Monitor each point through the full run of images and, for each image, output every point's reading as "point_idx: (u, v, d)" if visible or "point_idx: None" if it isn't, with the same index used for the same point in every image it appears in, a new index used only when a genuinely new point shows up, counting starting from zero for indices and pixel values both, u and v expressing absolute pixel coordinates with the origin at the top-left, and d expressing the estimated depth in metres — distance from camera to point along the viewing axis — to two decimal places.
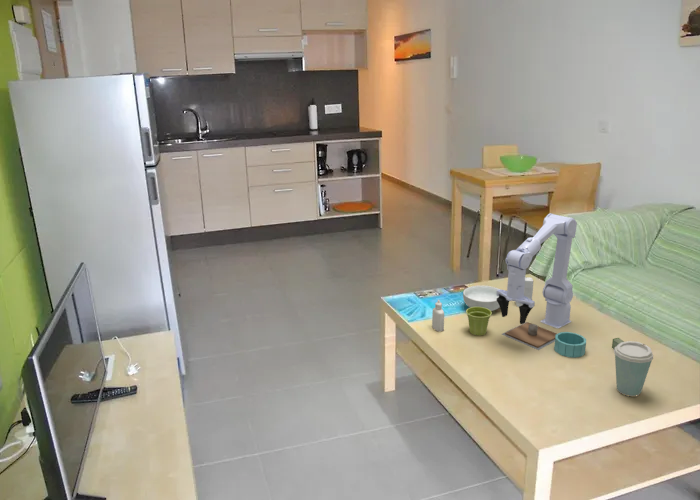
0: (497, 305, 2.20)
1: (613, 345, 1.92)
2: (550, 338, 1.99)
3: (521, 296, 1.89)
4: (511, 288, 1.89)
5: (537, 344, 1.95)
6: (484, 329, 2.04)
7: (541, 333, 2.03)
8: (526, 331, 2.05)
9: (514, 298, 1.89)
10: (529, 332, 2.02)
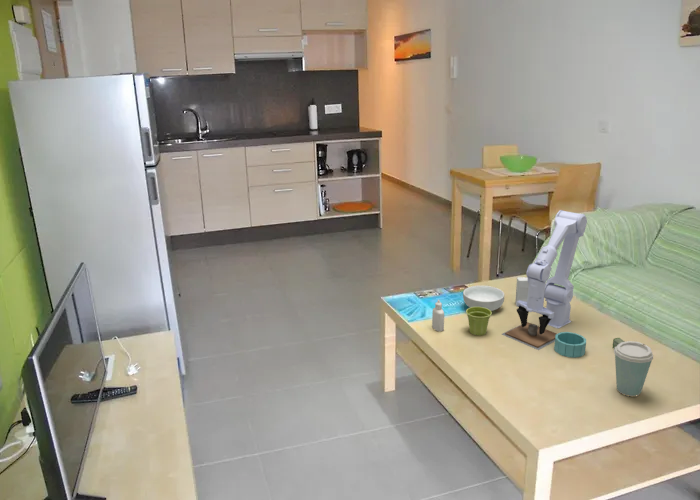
0: (497, 305, 2.20)
1: (614, 345, 1.92)
2: (550, 338, 1.99)
3: (541, 307, 1.97)
4: (531, 299, 1.97)
5: (537, 344, 1.95)
6: (484, 329, 2.04)
7: None
8: (526, 331, 2.05)
9: (534, 309, 1.97)
10: (529, 332, 2.02)
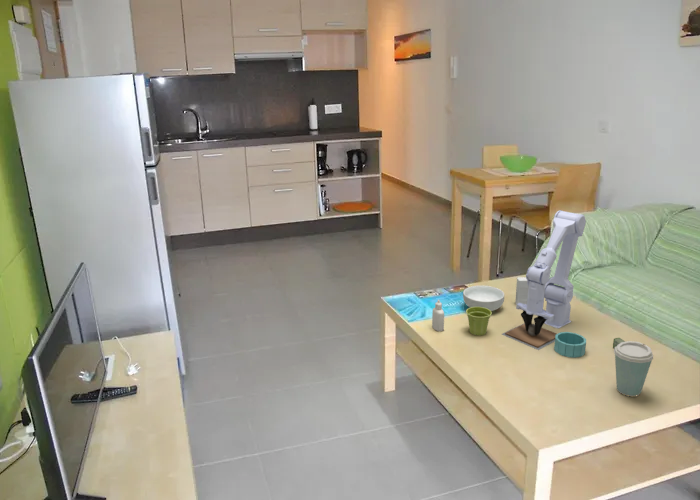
0: (497, 305, 2.20)
1: (614, 345, 1.92)
2: (550, 338, 1.99)
3: (541, 310, 1.97)
4: (531, 302, 1.97)
5: (537, 344, 1.95)
6: (484, 329, 2.04)
7: (541, 333, 2.03)
8: (526, 331, 2.05)
9: (533, 311, 1.97)
10: (529, 332, 2.02)
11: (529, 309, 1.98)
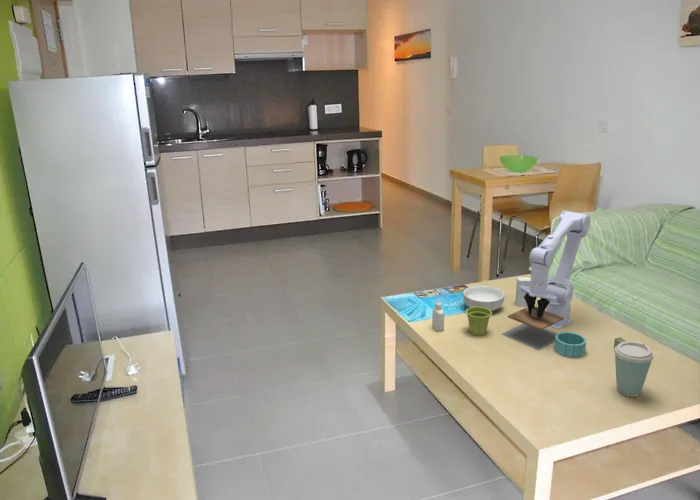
0: (497, 305, 2.20)
1: (615, 345, 1.93)
2: (553, 321, 1.96)
3: (544, 292, 1.95)
4: (534, 284, 1.94)
5: (540, 326, 1.92)
6: (484, 329, 2.04)
7: (544, 316, 2.00)
8: (529, 314, 2.02)
9: (537, 293, 1.95)
10: (532, 315, 1.99)
11: (532, 291, 1.96)
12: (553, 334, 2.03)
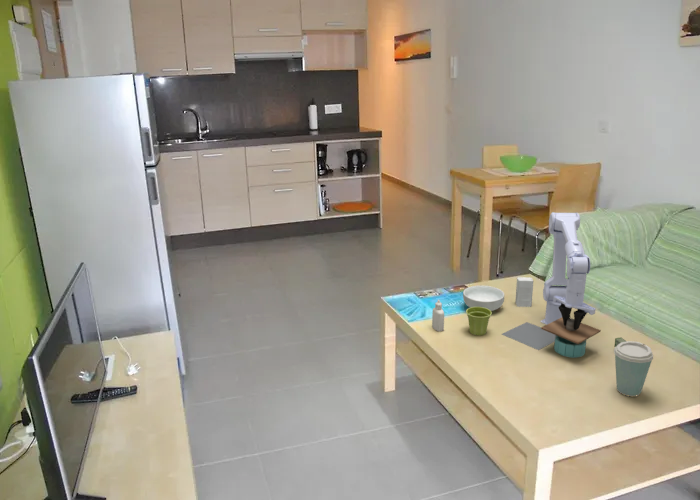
0: (497, 305, 2.20)
1: (615, 345, 1.93)
2: (590, 334, 1.86)
3: (581, 303, 1.84)
4: (571, 294, 1.83)
5: (577, 340, 1.82)
6: (484, 329, 2.04)
7: (580, 328, 1.90)
8: (563, 326, 1.91)
9: (573, 304, 1.84)
10: (567, 327, 1.88)
11: (568, 302, 1.85)
12: (553, 334, 2.03)
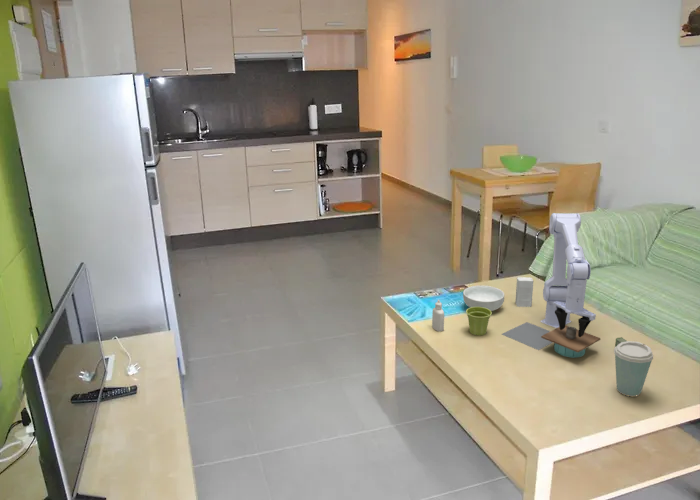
0: (497, 305, 2.20)
1: (616, 344, 1.93)
2: (590, 342, 1.86)
3: (581, 309, 1.84)
4: (571, 300, 1.84)
5: (577, 348, 1.82)
6: (484, 329, 2.04)
7: None
8: (563, 334, 1.92)
9: (573, 310, 1.84)
10: (567, 335, 1.89)
11: (568, 308, 1.85)
12: None
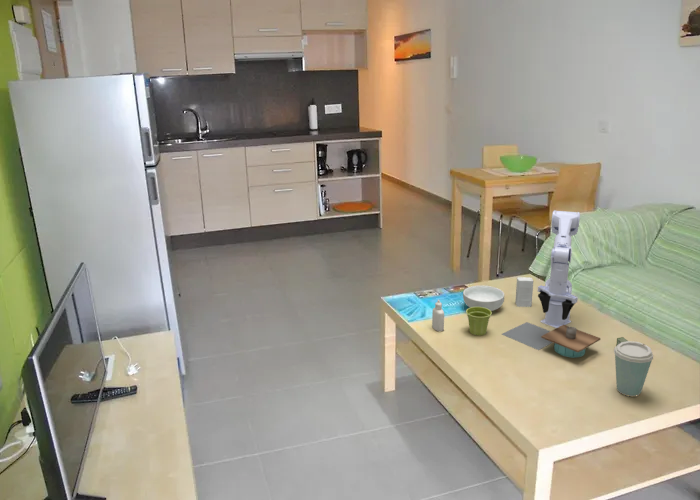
0: (497, 305, 2.20)
1: (617, 344, 1.93)
2: (590, 342, 1.86)
3: (564, 292, 1.90)
4: (554, 284, 1.90)
5: (577, 348, 1.82)
6: (484, 329, 2.04)
7: (580, 336, 1.90)
8: (563, 334, 1.92)
9: (556, 294, 1.90)
10: (567, 335, 1.89)
11: (552, 291, 1.91)
12: None
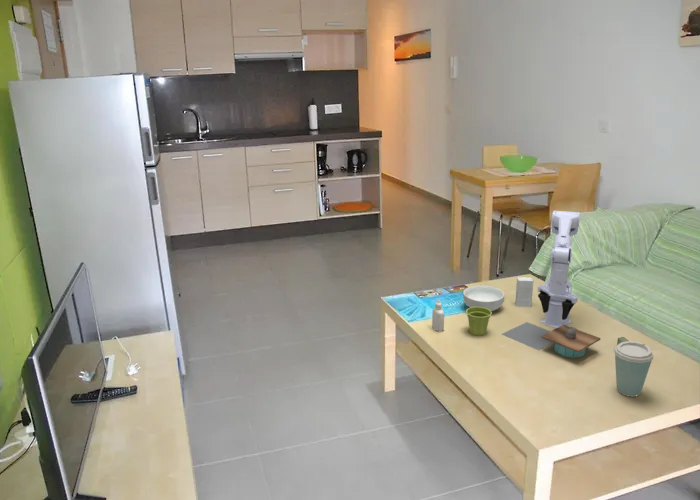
0: (497, 305, 2.20)
1: None
2: (590, 342, 1.86)
3: (564, 292, 1.90)
4: (554, 284, 1.90)
5: (577, 348, 1.82)
6: (484, 329, 2.04)
7: (580, 336, 1.90)
8: (563, 334, 1.92)
9: (556, 294, 1.90)
10: (567, 335, 1.89)
11: (552, 291, 1.91)
12: None
